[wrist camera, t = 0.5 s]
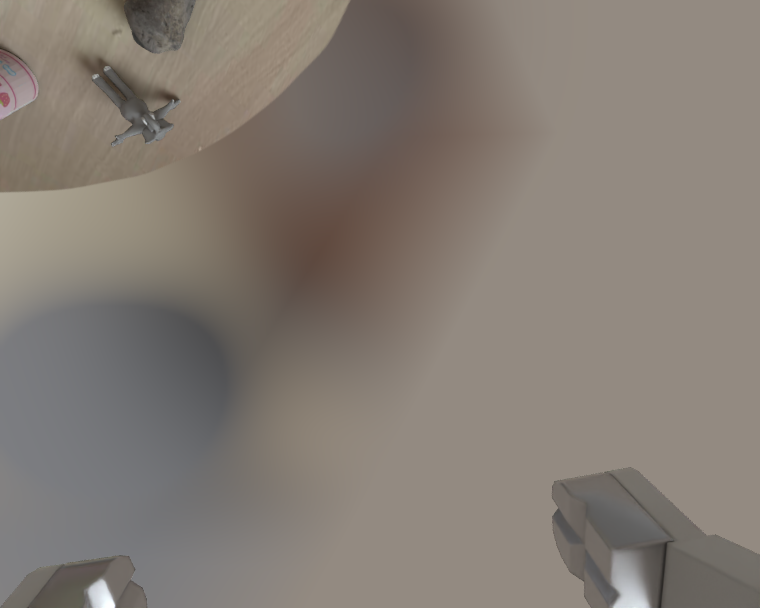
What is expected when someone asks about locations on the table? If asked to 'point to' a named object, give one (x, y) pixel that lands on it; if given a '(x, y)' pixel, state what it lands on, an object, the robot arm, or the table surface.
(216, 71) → the table surface
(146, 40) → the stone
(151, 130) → the elephant figurine
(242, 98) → the table surface
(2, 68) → the beverage can
